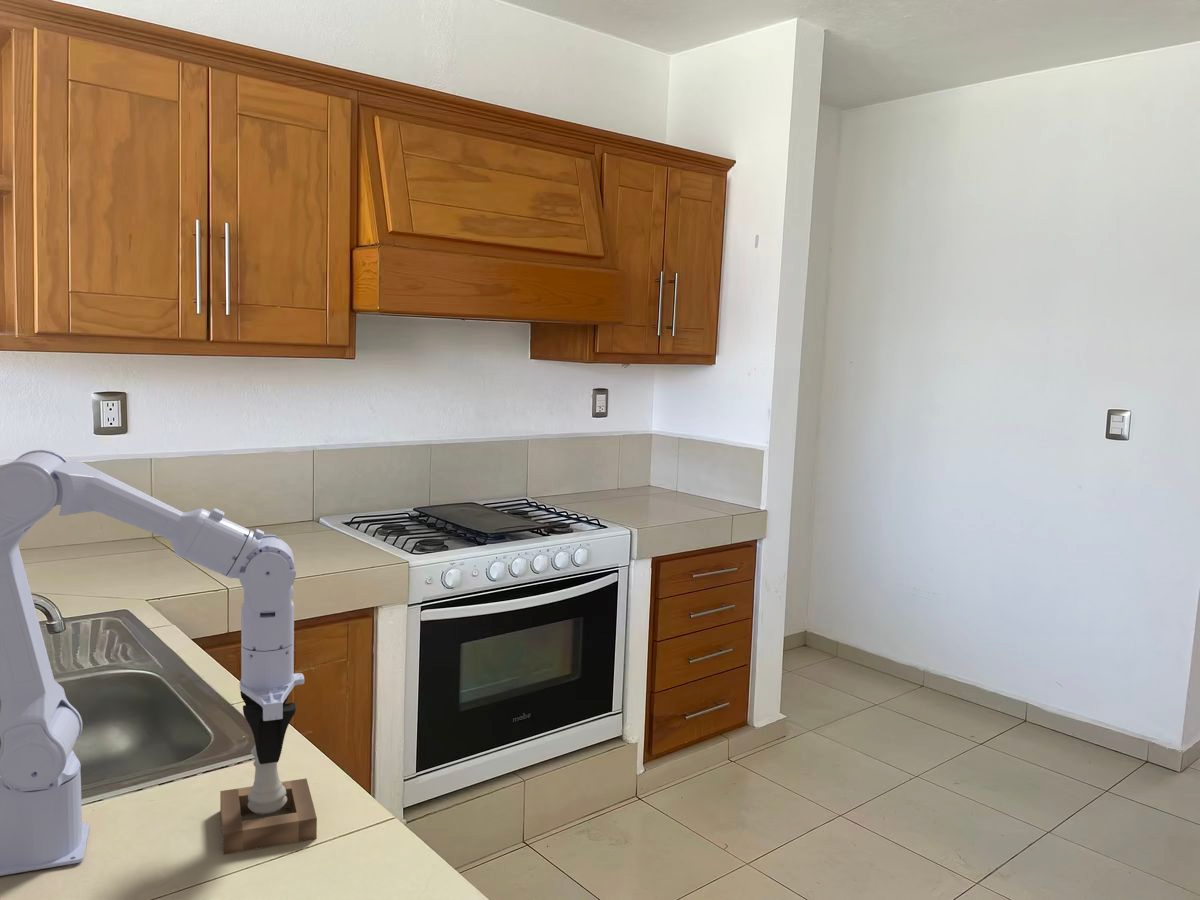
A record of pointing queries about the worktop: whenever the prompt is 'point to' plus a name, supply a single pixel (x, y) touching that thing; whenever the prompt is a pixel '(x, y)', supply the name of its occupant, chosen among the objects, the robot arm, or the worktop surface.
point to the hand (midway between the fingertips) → (267, 754)
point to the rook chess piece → (266, 788)
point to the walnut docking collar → (267, 819)
